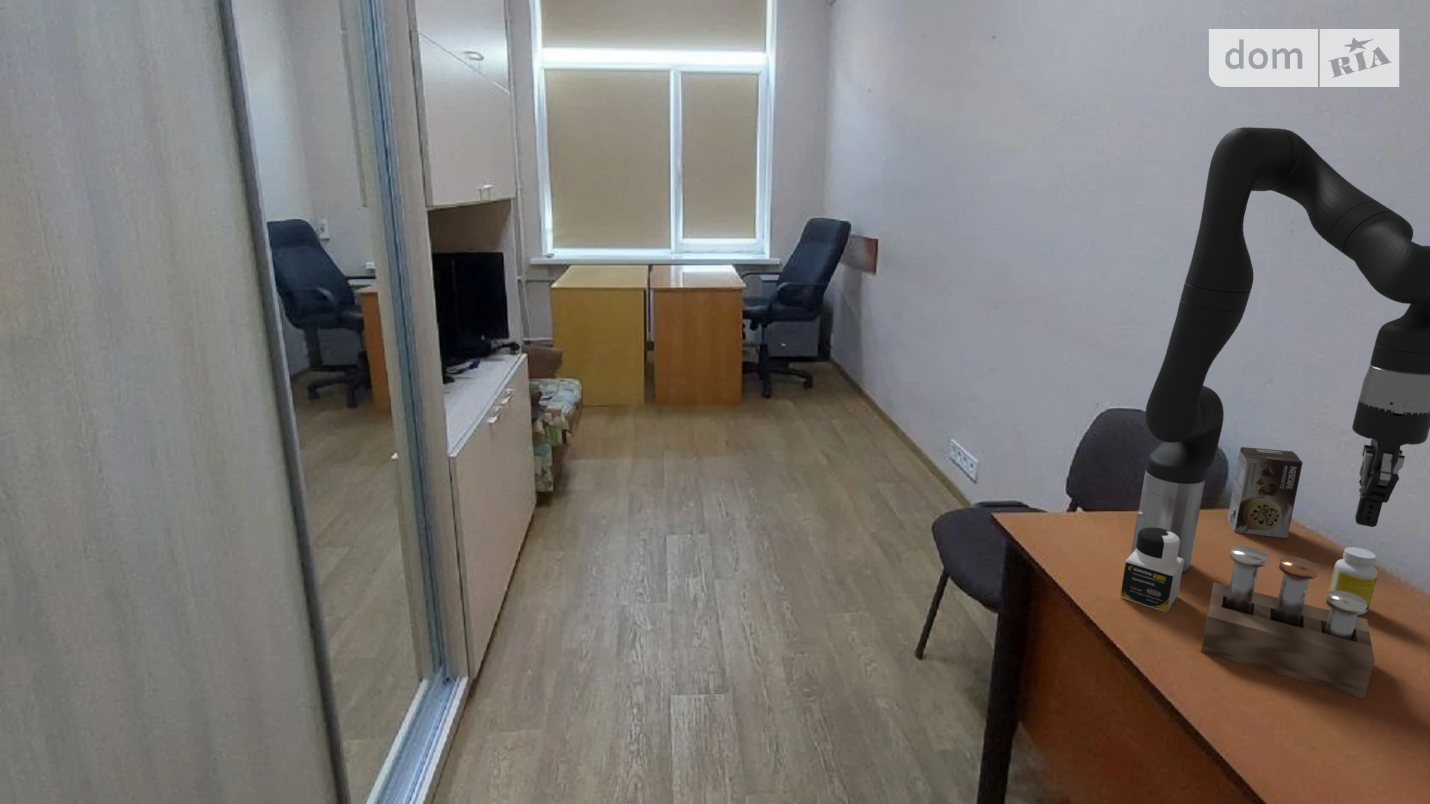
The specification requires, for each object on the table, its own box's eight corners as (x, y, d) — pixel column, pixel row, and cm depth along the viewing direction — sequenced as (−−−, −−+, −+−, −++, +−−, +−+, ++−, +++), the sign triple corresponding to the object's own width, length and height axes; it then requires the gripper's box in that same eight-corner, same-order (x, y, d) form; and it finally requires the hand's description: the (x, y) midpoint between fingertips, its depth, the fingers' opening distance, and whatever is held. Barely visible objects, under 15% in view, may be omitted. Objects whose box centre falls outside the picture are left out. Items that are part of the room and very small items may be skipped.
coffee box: (1278, 526, 156) (1294, 450, 151) (1288, 539, 150) (1305, 461, 145) (1225, 519, 159) (1240, 445, 154) (1233, 532, 153) (1248, 456, 148)
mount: (1201, 651, 115) (1207, 616, 113) (1207, 615, 125) (1213, 582, 123) (1364, 698, 105) (1374, 660, 103) (1357, 655, 114) (1367, 619, 112)
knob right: (1312, 663, 110) (1328, 600, 108) (1311, 648, 114) (1326, 587, 111) (1351, 674, 108) (1368, 610, 105) (1349, 658, 111) (1365, 596, 109)
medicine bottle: (1119, 598, 130) (1129, 533, 126) (1132, 582, 135) (1142, 519, 131) (1166, 613, 125) (1178, 546, 122) (1178, 596, 130) (1189, 531, 127)
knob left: (1218, 615, 116) (1230, 554, 113) (1220, 602, 120) (1232, 543, 117) (1253, 624, 114) (1266, 562, 111) (1254, 611, 117) (1267, 550, 114)
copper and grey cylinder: (1266, 628, 113) (1280, 565, 110) (1267, 614, 116) (1280, 553, 113) (1304, 638, 110) (1319, 574, 107) (1303, 624, 114) (1317, 561, 111)
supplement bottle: (1375, 616, 124) (1390, 562, 121) (1337, 613, 125) (1350, 559, 122) (1355, 599, 129) (1369, 546, 126) (1319, 596, 130) (1331, 543, 127)
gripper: (1356, 386, 107) (1328, 501, 112) (1363, 409, 97) (1332, 534, 102) (1427, 394, 103) (1395, 513, 108) (1443, 420, 93) (1407, 550, 98)
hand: (1365, 523), depth 105 cm, fingers closed
